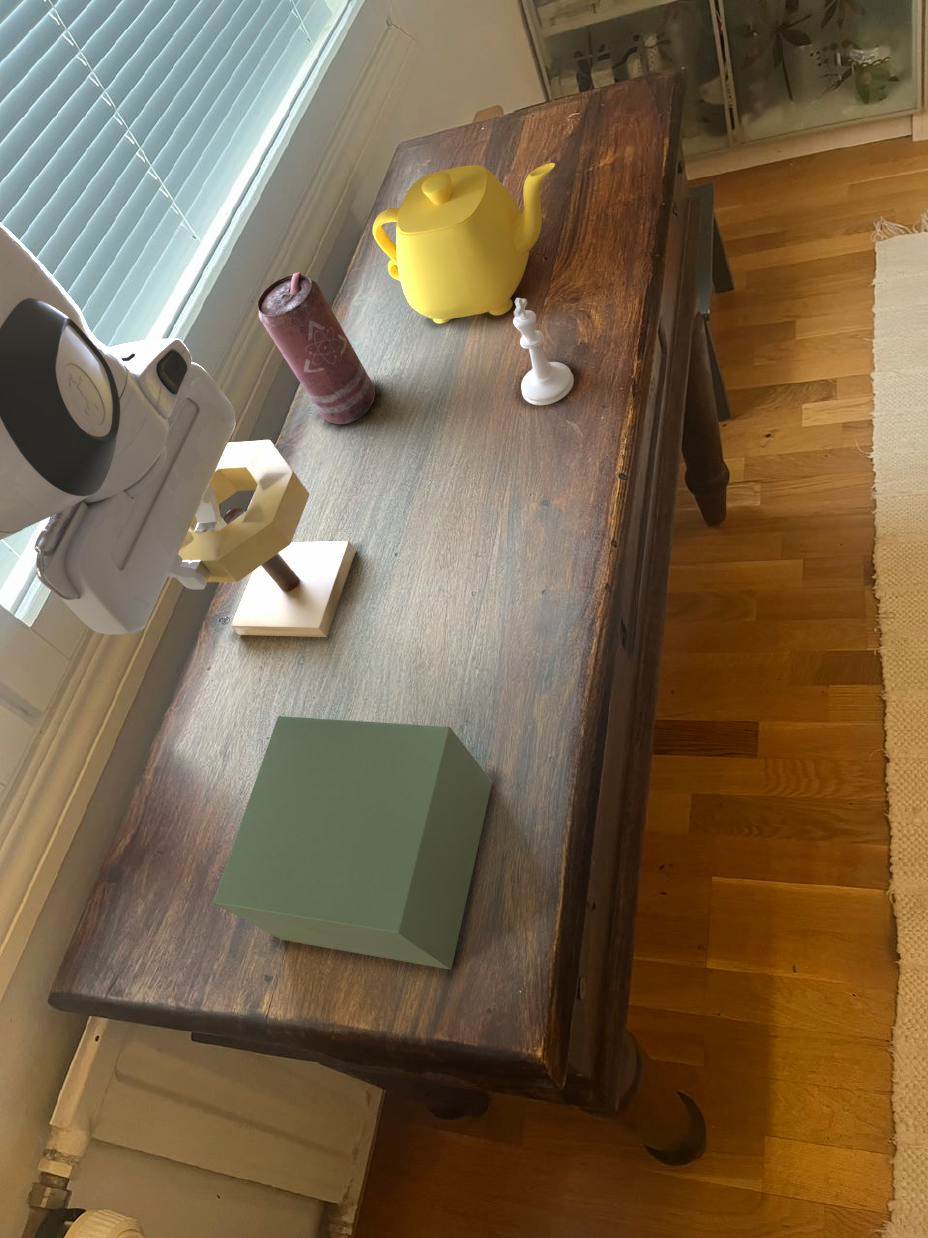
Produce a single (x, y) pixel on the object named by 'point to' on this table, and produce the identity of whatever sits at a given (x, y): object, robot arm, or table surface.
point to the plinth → (360, 838)
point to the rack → (294, 589)
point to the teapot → (462, 241)
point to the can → (316, 348)
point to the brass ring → (249, 512)
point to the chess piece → (539, 363)
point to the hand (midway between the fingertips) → (210, 558)
